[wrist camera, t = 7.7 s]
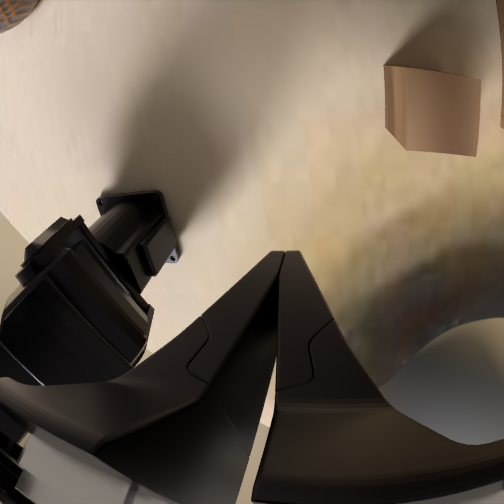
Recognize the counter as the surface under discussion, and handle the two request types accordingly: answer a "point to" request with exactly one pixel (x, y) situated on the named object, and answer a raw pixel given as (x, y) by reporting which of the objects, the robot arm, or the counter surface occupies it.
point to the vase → (14, 12)
